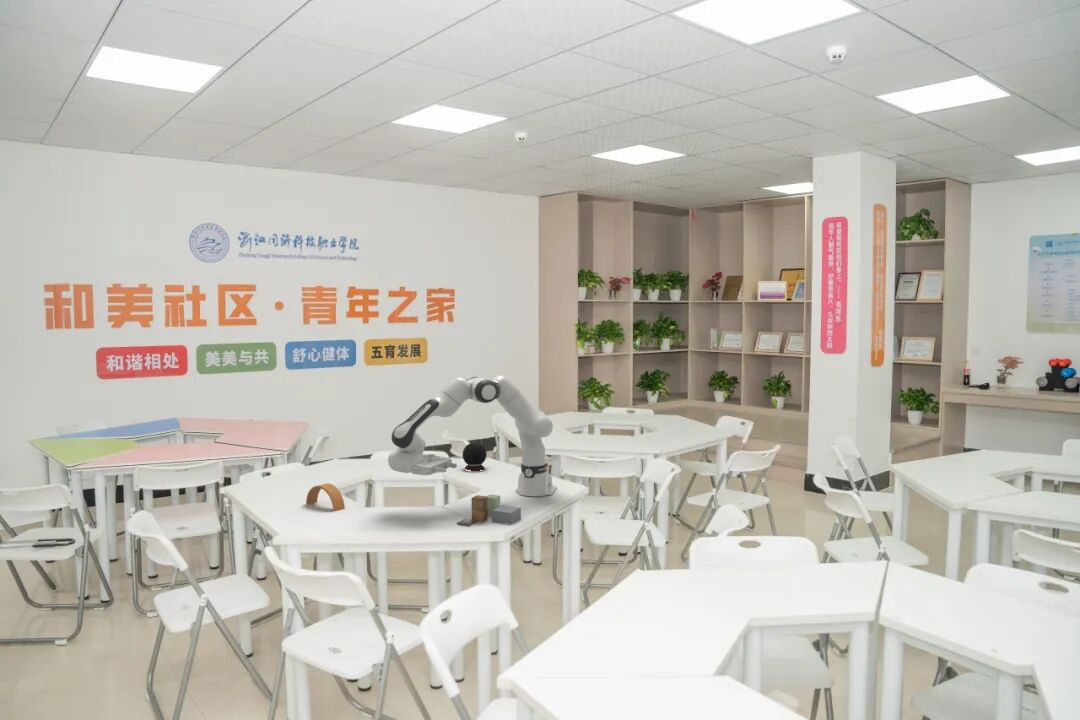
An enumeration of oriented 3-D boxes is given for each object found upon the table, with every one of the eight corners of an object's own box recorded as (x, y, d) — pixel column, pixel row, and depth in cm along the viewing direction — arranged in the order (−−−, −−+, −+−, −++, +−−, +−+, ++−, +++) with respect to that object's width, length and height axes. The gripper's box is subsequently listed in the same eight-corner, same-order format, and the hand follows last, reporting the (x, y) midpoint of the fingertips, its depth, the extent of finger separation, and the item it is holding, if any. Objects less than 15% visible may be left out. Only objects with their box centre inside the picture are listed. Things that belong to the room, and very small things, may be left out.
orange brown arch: (334, 511, 321) (333, 489, 320) (306, 504, 333) (305, 482, 332) (344, 509, 326) (344, 486, 325) (316, 501, 338) (316, 480, 337)
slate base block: (502, 516, 315) (502, 505, 314) (520, 519, 311) (520, 507, 310) (491, 522, 307) (491, 510, 306) (510, 524, 303) (510, 513, 302)
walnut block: (477, 518, 311) (477, 495, 310) (487, 519, 309) (487, 496, 308) (471, 521, 307) (471, 497, 306) (482, 522, 305) (482, 499, 304)
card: (463, 520, 307) (463, 518, 307) (476, 522, 305) (476, 520, 305) (456, 524, 302) (456, 522, 302) (469, 526, 300) (469, 524, 300)
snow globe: (481, 473, 395) (481, 445, 394) (458, 471, 399) (458, 444, 398) (490, 467, 408) (489, 441, 407) (467, 466, 411) (467, 439, 410)
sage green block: (490, 512, 320) (489, 494, 319) (500, 513, 318) (500, 495, 317) (484, 515, 315) (484, 497, 315) (495, 516, 313) (495, 498, 313)
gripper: (409, 461, 307) (438, 465, 302) (434, 453, 326) (462, 456, 321) (409, 476, 307) (438, 480, 302) (434, 467, 326) (461, 470, 321)
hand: (450, 468), depth 311 cm, fingers open, 8 cm apart
